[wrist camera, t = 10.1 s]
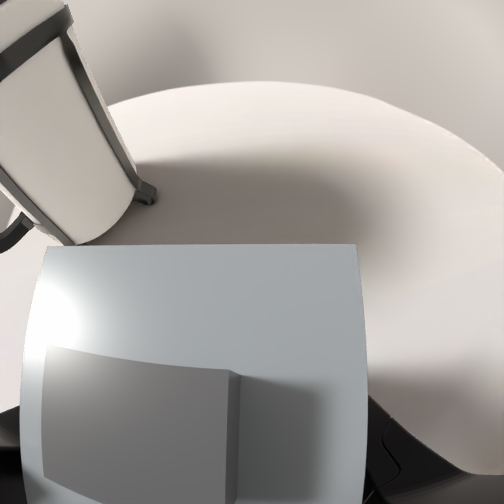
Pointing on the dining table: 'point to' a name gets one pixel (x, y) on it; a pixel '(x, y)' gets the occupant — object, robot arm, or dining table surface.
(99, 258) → the plug
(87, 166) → the coffee press
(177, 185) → the dining table surface
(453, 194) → the dining table surface
